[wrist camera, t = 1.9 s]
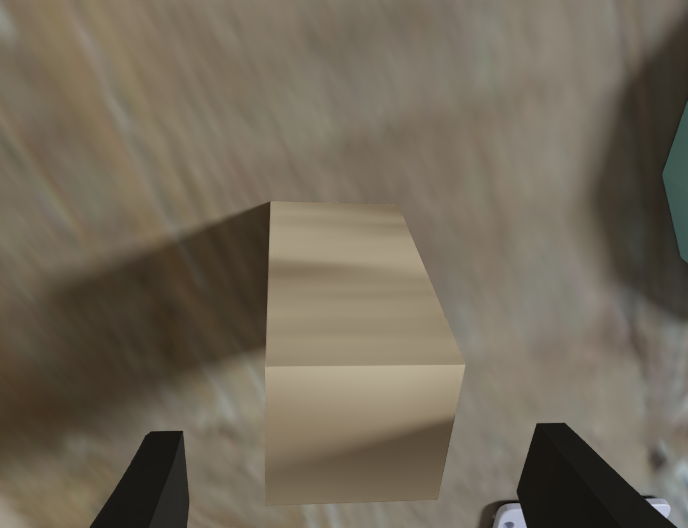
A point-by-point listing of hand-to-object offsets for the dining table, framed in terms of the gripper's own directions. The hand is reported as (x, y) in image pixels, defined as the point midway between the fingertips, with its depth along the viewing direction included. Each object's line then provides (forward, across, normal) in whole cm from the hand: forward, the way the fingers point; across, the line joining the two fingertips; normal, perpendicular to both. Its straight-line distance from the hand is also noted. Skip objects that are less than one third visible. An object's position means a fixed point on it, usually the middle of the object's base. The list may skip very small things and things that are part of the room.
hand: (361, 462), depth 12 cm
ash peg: (+9, 0, 0) cm, 9 cm away
